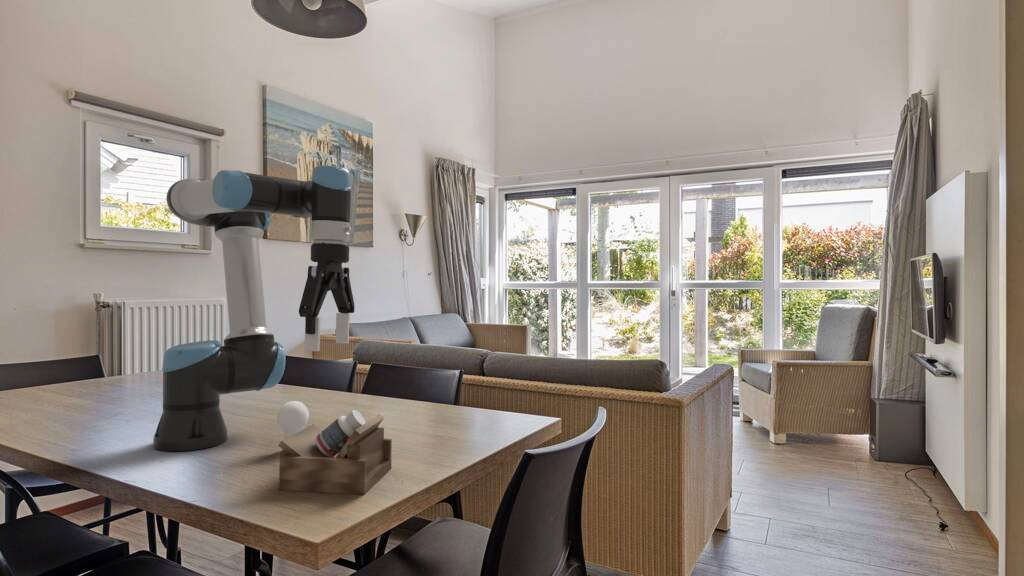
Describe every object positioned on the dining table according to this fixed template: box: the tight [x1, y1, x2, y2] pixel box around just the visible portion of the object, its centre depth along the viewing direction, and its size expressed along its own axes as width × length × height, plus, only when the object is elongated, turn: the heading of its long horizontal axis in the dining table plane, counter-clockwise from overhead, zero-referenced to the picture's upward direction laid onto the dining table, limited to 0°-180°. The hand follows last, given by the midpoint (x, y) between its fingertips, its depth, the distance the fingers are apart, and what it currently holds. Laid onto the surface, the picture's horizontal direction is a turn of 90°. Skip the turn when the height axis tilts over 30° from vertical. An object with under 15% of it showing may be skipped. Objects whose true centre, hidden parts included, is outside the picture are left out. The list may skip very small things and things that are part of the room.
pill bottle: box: [315, 409, 367, 457], centre depth 111 cm, size 5×5×9 cm
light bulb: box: [277, 400, 310, 439], centre depth 130 cm, size 7×7×11 cm
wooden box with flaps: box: [277, 413, 393, 496], centre depth 111 cm, size 17×15×11 cm
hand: (328, 347), depth 118 cm, fingers open, 13 cm apart
